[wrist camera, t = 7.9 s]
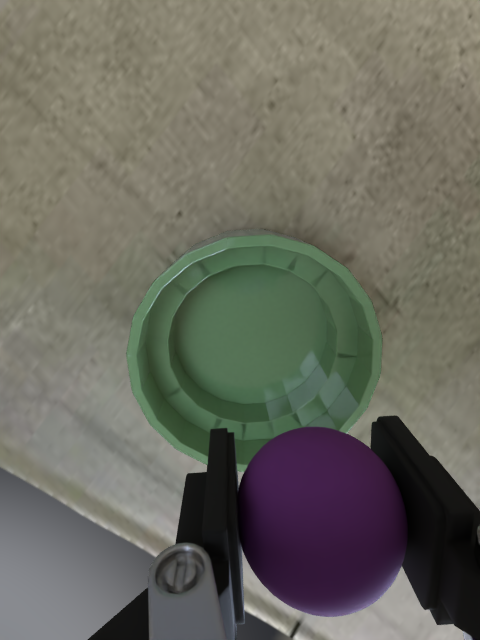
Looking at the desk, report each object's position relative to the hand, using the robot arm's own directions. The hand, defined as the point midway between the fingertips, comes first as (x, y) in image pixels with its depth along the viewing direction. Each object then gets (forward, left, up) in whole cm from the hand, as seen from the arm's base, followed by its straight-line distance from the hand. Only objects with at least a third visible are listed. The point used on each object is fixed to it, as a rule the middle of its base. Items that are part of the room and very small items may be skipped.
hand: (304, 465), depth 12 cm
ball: (0, 0, +2) cm, 2 cm away
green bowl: (-1, -1, -17) cm, 17 cm away
